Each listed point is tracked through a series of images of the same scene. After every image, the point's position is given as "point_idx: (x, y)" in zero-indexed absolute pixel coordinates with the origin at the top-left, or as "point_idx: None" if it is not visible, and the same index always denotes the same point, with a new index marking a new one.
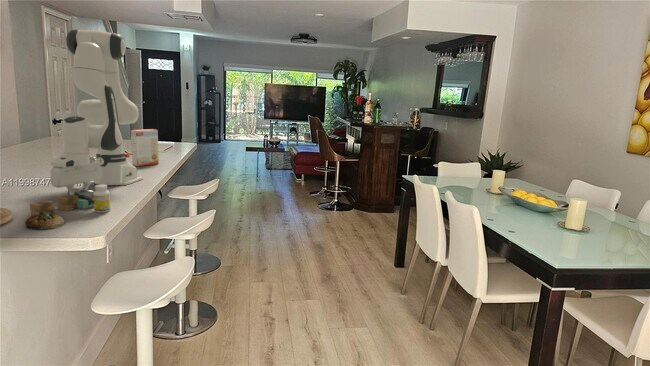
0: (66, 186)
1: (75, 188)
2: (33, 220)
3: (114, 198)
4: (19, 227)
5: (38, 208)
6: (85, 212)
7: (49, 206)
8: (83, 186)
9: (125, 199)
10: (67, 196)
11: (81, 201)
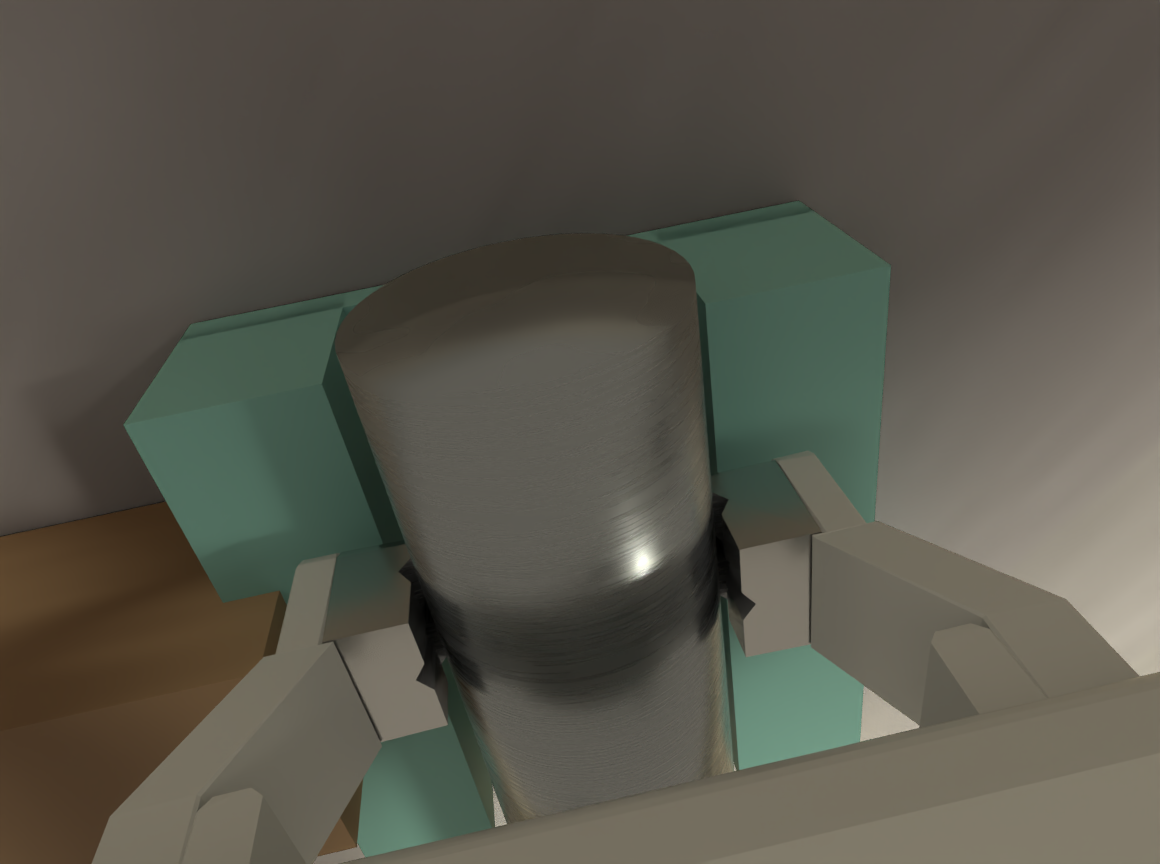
0: (98, 855)
1: (554, 584)
2: None
3: (1147, 483)
4: None
5: None
6: (318, 859)
7: None
8: (871, 570)
9: (1144, 623)
10: (111, 800)
11: (361, 837)
